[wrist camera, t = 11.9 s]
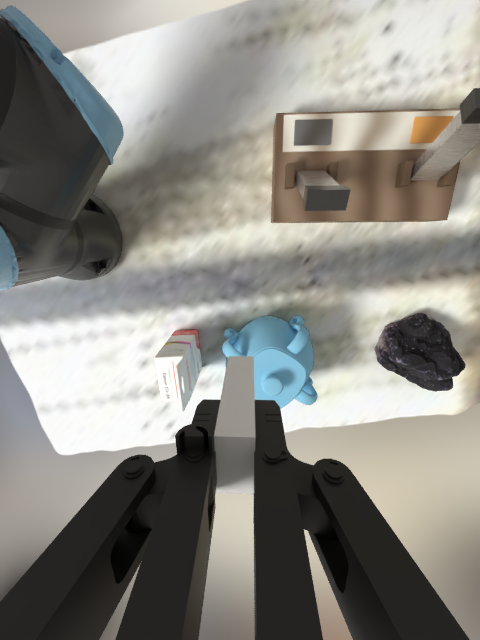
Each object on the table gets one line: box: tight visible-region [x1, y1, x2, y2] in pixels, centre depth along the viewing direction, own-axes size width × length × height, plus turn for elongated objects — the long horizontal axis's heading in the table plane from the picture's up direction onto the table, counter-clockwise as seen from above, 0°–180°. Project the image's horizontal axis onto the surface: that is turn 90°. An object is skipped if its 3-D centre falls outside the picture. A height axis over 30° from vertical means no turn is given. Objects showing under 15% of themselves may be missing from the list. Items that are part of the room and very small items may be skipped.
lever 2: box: [410, 88, 480, 181], centre depth 32 cm, size 5×2×12 cm, turn 91°
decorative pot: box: [222, 315, 317, 408], centre depth 46 cm, size 16×16×14 cm
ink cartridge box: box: [154, 330, 202, 411], centre depth 46 cm, size 9×5×15 cm, turn 4°
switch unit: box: [271, 109, 460, 223], centre depth 39 cm, size 26×14×7 cm, turn 90°
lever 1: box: [295, 170, 351, 211], centre depth 34 cm, size 5×2×12 cm, turn 91°
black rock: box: [375, 313, 465, 391], centre depth 47 cm, size 13×14×10 cm
